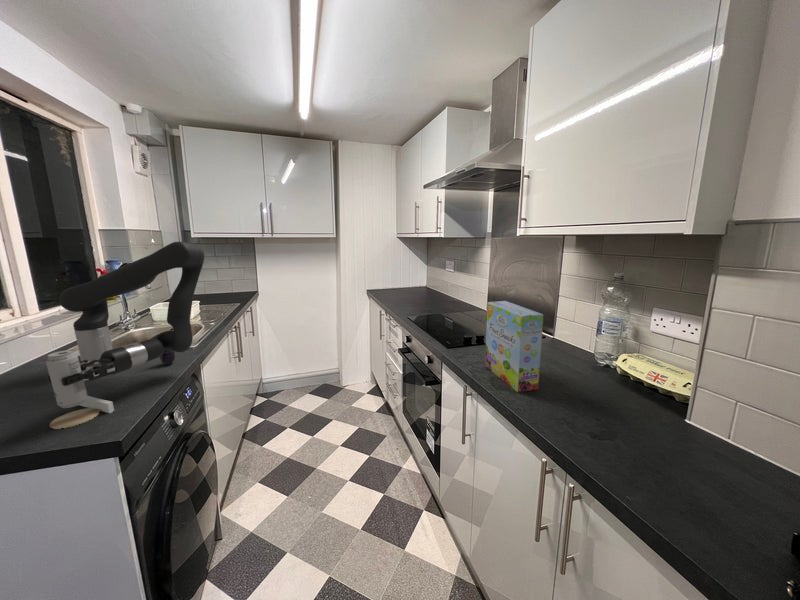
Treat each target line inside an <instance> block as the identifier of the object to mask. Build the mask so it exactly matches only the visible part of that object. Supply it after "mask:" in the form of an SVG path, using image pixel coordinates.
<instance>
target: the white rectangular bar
mask: <svg viewBox="0 0 800 600" xmlns="http://www.w3.org/2000/svg"><path fill="white" fill-rule="evenodd" d="M113 403H114V402H113V401H111V400H105V399H103V398H98V397H94V396H91V395H88V397H87V398H86V401H85V402H84V403H82V404H80V405H79V406H81V407H84V408H96V409H99V411H100V412H104V413H107V414H112V413H113V411H114V412H115V408H114V404H113Z"/></svg>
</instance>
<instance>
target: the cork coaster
mask: <svg viewBox="0 0 800 600" xmlns="http://www.w3.org/2000/svg"><path fill="white" fill-rule="evenodd" d="M99 412H101V411H99V409H96V408H88V407H86V408H82V409H78V410H73V411H70V412H67V413H65V414H63V415H60V416H58V417H56V418H54V420H52V421H51V422H50V423H49V428H51V429H52V428H53V429H52V430H62V429H61V428H64V429H67V428H68V427H69V428H72V427H76V425H77V426H80V425H82V423H83V424H84V423H85V424H86V423H87V422H90V421H91V420H93V419H95V418H96V417H98V416H99V414H100V413H99ZM94 417H95V418H94ZM89 420H90V421H89ZM79 424H80V425H79Z"/></svg>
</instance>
